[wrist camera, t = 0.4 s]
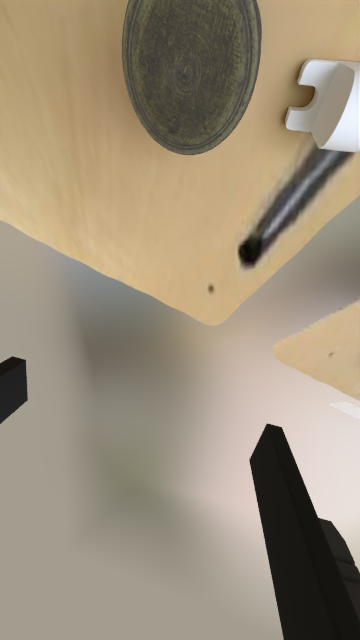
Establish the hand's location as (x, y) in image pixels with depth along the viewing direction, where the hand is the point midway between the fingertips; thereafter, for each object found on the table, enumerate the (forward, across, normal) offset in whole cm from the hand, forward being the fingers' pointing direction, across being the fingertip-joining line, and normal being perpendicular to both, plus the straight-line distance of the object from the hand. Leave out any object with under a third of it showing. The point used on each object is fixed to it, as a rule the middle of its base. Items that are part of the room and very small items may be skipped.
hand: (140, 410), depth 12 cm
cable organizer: (+24, +12, +27) cm, 38 cm away
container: (+23, -3, +28) cm, 37 cm away
